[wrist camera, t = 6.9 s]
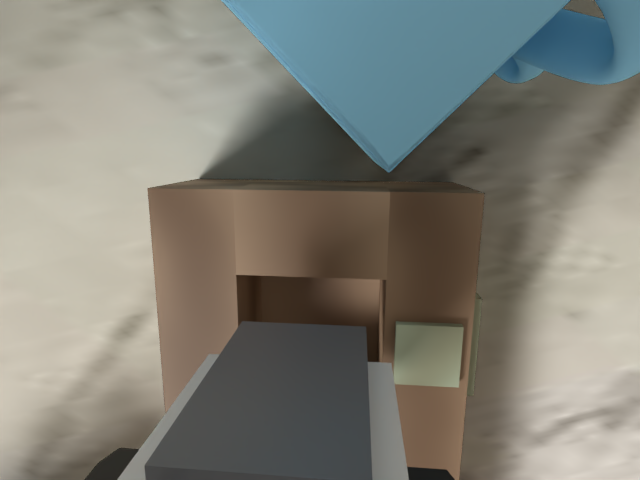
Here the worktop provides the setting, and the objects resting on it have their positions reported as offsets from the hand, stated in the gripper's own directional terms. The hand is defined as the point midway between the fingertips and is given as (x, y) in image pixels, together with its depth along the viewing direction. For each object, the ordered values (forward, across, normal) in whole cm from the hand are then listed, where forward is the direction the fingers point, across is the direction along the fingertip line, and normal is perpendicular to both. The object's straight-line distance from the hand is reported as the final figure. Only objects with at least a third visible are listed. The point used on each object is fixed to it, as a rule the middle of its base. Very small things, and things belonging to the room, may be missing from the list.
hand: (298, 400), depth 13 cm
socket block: (+9, 0, -6) cm, 10 cm away
